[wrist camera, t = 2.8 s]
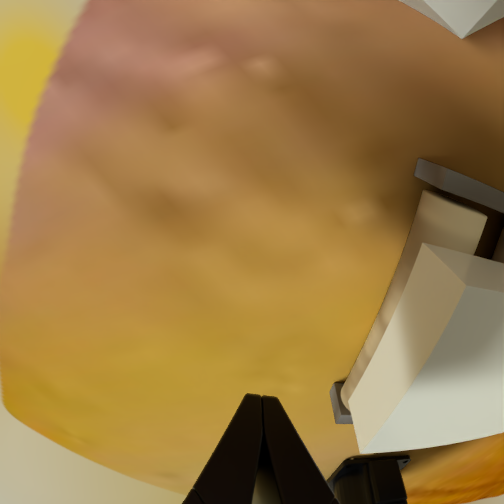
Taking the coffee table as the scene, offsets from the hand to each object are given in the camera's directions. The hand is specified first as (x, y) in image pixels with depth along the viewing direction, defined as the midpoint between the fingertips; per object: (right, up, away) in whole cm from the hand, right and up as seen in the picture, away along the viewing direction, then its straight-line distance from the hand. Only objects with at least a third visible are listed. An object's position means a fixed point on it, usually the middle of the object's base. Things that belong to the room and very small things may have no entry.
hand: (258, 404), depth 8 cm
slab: (+13, -1, +4) cm, 13 cm away
